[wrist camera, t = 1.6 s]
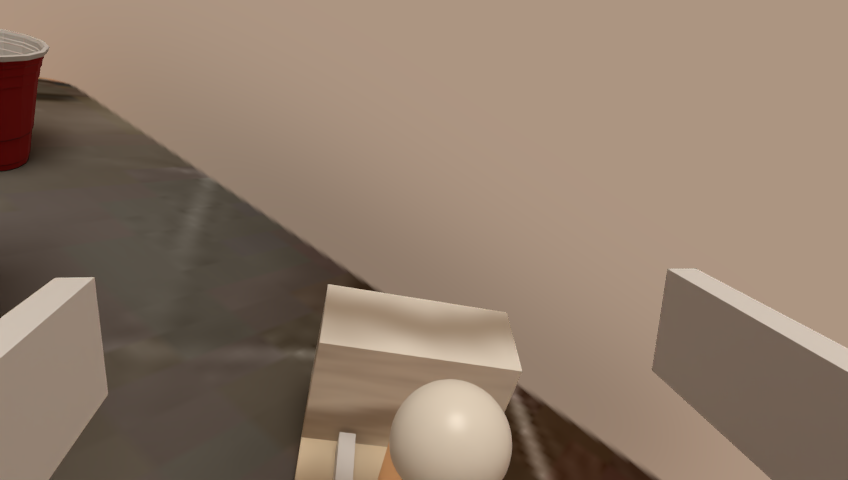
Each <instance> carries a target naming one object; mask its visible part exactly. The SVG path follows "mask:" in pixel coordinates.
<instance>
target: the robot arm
mask: <svg viewBox="0 0 848 480" xmlns="http://www.w3.org/2000/svg"><path fill="white" fill-rule="evenodd" d="M652 370H653V372H655V373H656V374H657V375H658V376H659V377H660V378H661V379H662V380H663V381H664V382H666V383H667V384H668V385H669V386H670V387H671V388H672V389H673V390H674V391H675V392H676V393H677V394H679V395H680V396H681V397H682V398H683V399H684V400H685V401H686V402H687V403H688V404H690V405H691V406H692V407H693V408H694V409H695V410H696V411H697V412H698V413H699V414H701V415H702V416H703V417H704V418H705V419H706V420H707V421H708V422H709V423H710V424H711V425H713V426H714V427H715V428H716V429H717V430H718V431H719V432H720V433H721V434H722V435H723V436H725V437H726V438H727V439H728V440H729V441H730V442H732V444H733V445H735V446H736V447H737V448H738V449H739V450H740V451H741V452H742V453H743V454H744V455H745V456H747V457H748V458H749V459H750V460H751V461H752V462H753V463H754V464H755V465H756V466H758V467H759V468H760V469H761V470H762V471H763V472H764V473H765V474H766V475H767V476H768V477H770V478H771V479H772V480H848V348H846V347H844V346H842V345H840V344H839V343H836V342H834V341H833V340H831V339H829V338H827V337H825V336H823V335H821V334H820V333H818V332H816V331H814V330H812V329H810V328H808V327H806V326H804V325H802V324H800V323H799V322H797V321H795V320H793V319H791V318H789V317H787V316H785V315H783V314H781V313H780V312H778V311H776V310H774V309H772V308H770V307H768V306H766V305H764V304H762V303H760V302H759V301H757V300H755V299H753V298H751V297H749V296H747V295H745V294H743V293H742V292H740V291H738V290H736V289H734V288H732V287H730V286H728V285H726V284H724V283H722V282H721V281H719V280H717V279H715V278H713V277H711V276H709V275H707V274H705V273H703V272H702V271H700V270H698V269H695V268H694V269H667V275H666V282H665V288H664V295H663V302H662V308H661V314H660V321H659V328H658V334H657V341H656V348H655V354H654V360H653V367H652ZM107 395H108V388H107V380H106V371H105V363H104V354H103V346H102V337H101V329H100V320H99V312H98V303H97V294H96V286H95V277H77V278H54V279H53V280H51V281H50V282H49V283H47V284H46V285H45V286H43V287H42V288H41V289H39V290H38V291H37V292H35V293H34V294H32V295H31V296H30V297H28V298H27V299H26V300H24V301H23V302H22V303H20V304H19V305H18V306H16V307H15V308H14V309H12V310H11V311H9V312H8V313H7V314H5V315H4V316H3V317H1V318H0V480H49V479H50V477H51V476H52V474H53V473H54V471H55V470H56V469H57V467H58V466H59V464H60V463H61V461H62V460H63V458H64V457H65V456H66V454H67V453H68V451H69V450H70V448H71V447H72V445H73V444H74V443H75V441H76V440H77V438H78V437H79V435H80V434H81V432H82V431H83V430H84V428H85V427H86V425H87V424H88V422H89V421H90V420H91V418H92V417H93V415H94V414H95V412H96V411H97V409H98V408H99V407H100V405H101V404H102V402H103V401H104V399H105V398H106V396H107Z"/></svg>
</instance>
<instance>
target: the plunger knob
mask: <svg viewBox="0 0 848 480" xmlns="http://www.w3.org/2000/svg"><path fill="white" fill-rule="evenodd" d="M511 453H512V436H511V431H510V427H509V423H508V421H507V418H506V416H505V414H504V412H503V410H502V408H501V407H500V406H499V404H498V403H497V402H496V400H495V399H494V398H493V397H492V396H491V395H490V394H488V393H487V392H486V391H485V390H483V389H482V388H480V387H478V386H476V385H474V384H472V383H469V382H466V381H462V380H456V379H445V380H437V381H433V382H431V383H428V384H426V385H423V386H422V387H420V388H418V389H417V390H415V391H414V392H413V393H411V394H410V395H409V396H408V397H407V398H406V400H405V401H404V402H403V403H402V405H401V406H400V408H399V409H398V411H397V413H396V415H395V417H394V420H393V422H392V426H391V430H390V437H389V443H388V447H387V450H386V453H385V456H384V460H383V463H382V466H381V470H380V473H379V476H378V480H502V479H503V478H504V476H505V474H506V472H507V469H508V466H509V464H510V459H511Z"/></svg>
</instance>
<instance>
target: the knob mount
mask: <svg viewBox="0 0 848 480" xmlns="http://www.w3.org/2000/svg"><path fill="white" fill-rule="evenodd" d="M521 373H522V368H521V364H520V361H519V357H518V353H517V349H516V345H515V342H514V338H513V334H512V331H511V326H510V323H509V319H508V315H507V313H506V312H500V311H494V310H488V309H481V308H474V307H469V306H462V305H456V304H449V303H444V302H437V301H430V300H424V299H418V298H412V297H406V296H399V295H393V294H387V293H380V292H374V291H368V290H361V289H355V288H349V287H343V286H336V285H330V284H328V288H327V294H326V299H325V305H324V310H323V315H322V321H321V326H320V331H319V337H318V342H317V348H316V353H315V358H314V364H313V369H312V375H311V380H310V385H309V391H308V397H307V404H306V410H305V416H304V423H303V429H302V435H301V441H300V448H299V454H298V460H297V467H296V473H295V479H294V480H378V476H379V473H380V470H381V466H382V463H383V460H384V456H385V453H386V450H387V447H388V443H389V437H390V430H391V426H392V422H393V420H394V417H395V415H396V413H397V411H398V409H399V408H400V406H401V405H402V403H403V402H404V401H405V400H406V398H407V397H408V396H409V395H410V394H411V393H413V392H414V391H415V390H417V389H418V388H420V387H422V386H423V385H426V384H428V383H431V382H433V381H437V380H445V379H456V380H462V381H466V382H469V383H472V384H474V385H476V386H478V387H480V388H482V389H483V390H485V391H486V392H487V393H488V394H490V395H491V396H492V397H493V398H494V399H495V400H496V402H497V403H498V404H499V406H500V407H501V408H502V410H503V412H505V410H506V408H507V405H508V403H509V401H510V398H511V396H512V394H513V392H514V389H515V387H516V385H517V382H518V380H519V378H520V375H521Z"/></svg>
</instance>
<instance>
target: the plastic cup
mask: <svg viewBox="0 0 848 480" xmlns="http://www.w3.org/2000/svg"><path fill="white" fill-rule="evenodd" d="M48 49H49V46H48V45H47V44H46V43H45V42H44V41H42V40H40V39H37V38H35V37H32V36H29V35H26V34H22V33H18V32H14V31H9V30H4V29H0V171H4V170H10V169H13V168H17V167H20V166H21V165H23V164H25V163H26V162H27V160H28V157H29V153H30V147H31V134H32V129H33V125H34V115H35V105H36V94H37V84H38V77H39V75H40V67H41V66H42V59H43V58H44V55H45V54H46V53H47V52H48Z"/></svg>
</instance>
